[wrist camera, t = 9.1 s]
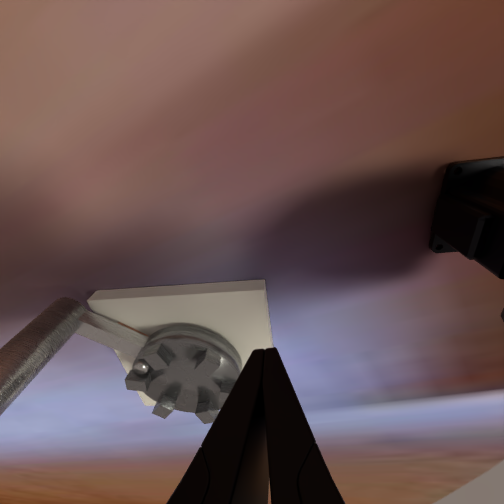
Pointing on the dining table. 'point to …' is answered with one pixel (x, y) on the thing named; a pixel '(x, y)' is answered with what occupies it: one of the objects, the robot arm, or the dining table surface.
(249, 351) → the base plate
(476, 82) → the dining table surface
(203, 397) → the grey l-shaped piece
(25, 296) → the dining table surface
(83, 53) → the dining table surface
